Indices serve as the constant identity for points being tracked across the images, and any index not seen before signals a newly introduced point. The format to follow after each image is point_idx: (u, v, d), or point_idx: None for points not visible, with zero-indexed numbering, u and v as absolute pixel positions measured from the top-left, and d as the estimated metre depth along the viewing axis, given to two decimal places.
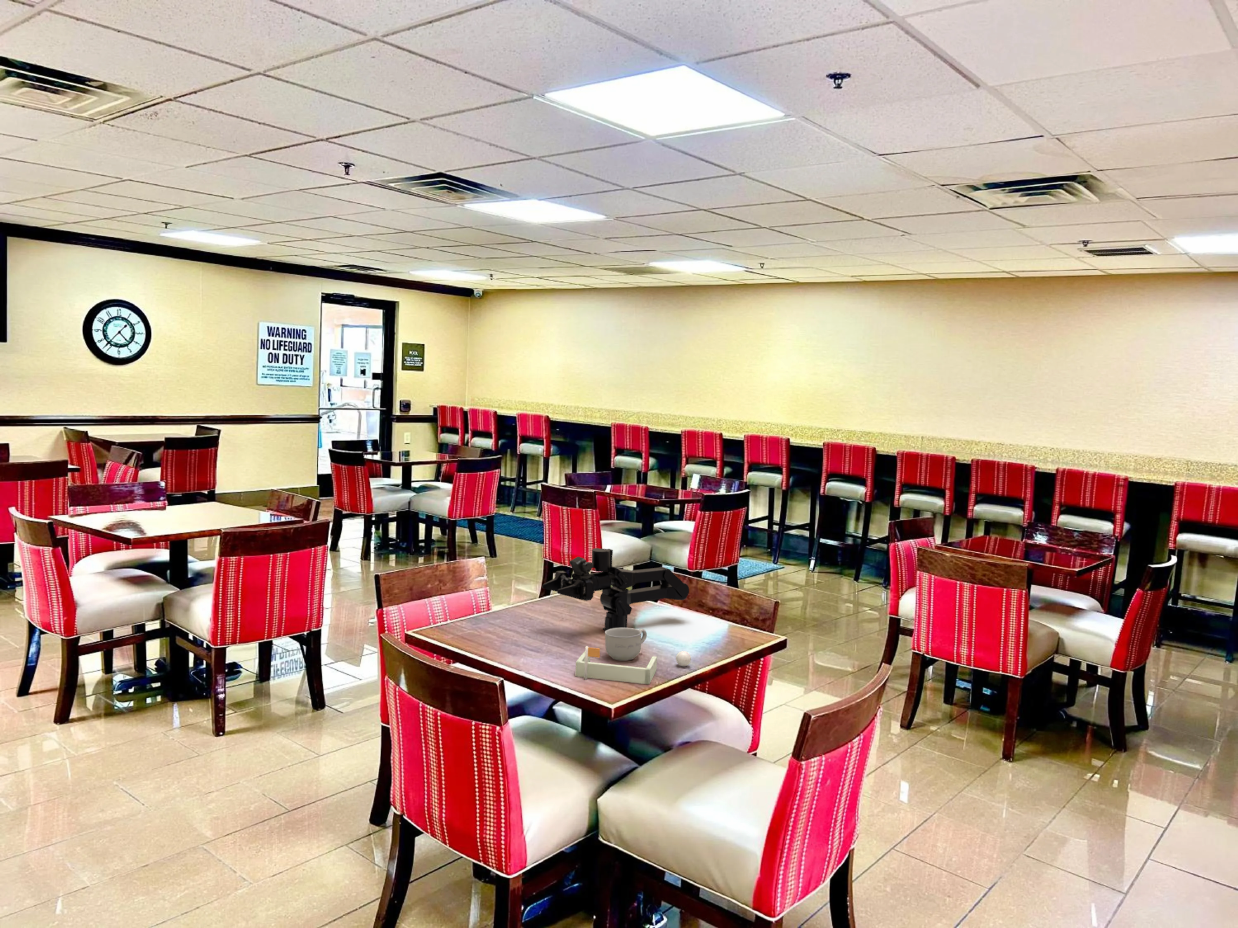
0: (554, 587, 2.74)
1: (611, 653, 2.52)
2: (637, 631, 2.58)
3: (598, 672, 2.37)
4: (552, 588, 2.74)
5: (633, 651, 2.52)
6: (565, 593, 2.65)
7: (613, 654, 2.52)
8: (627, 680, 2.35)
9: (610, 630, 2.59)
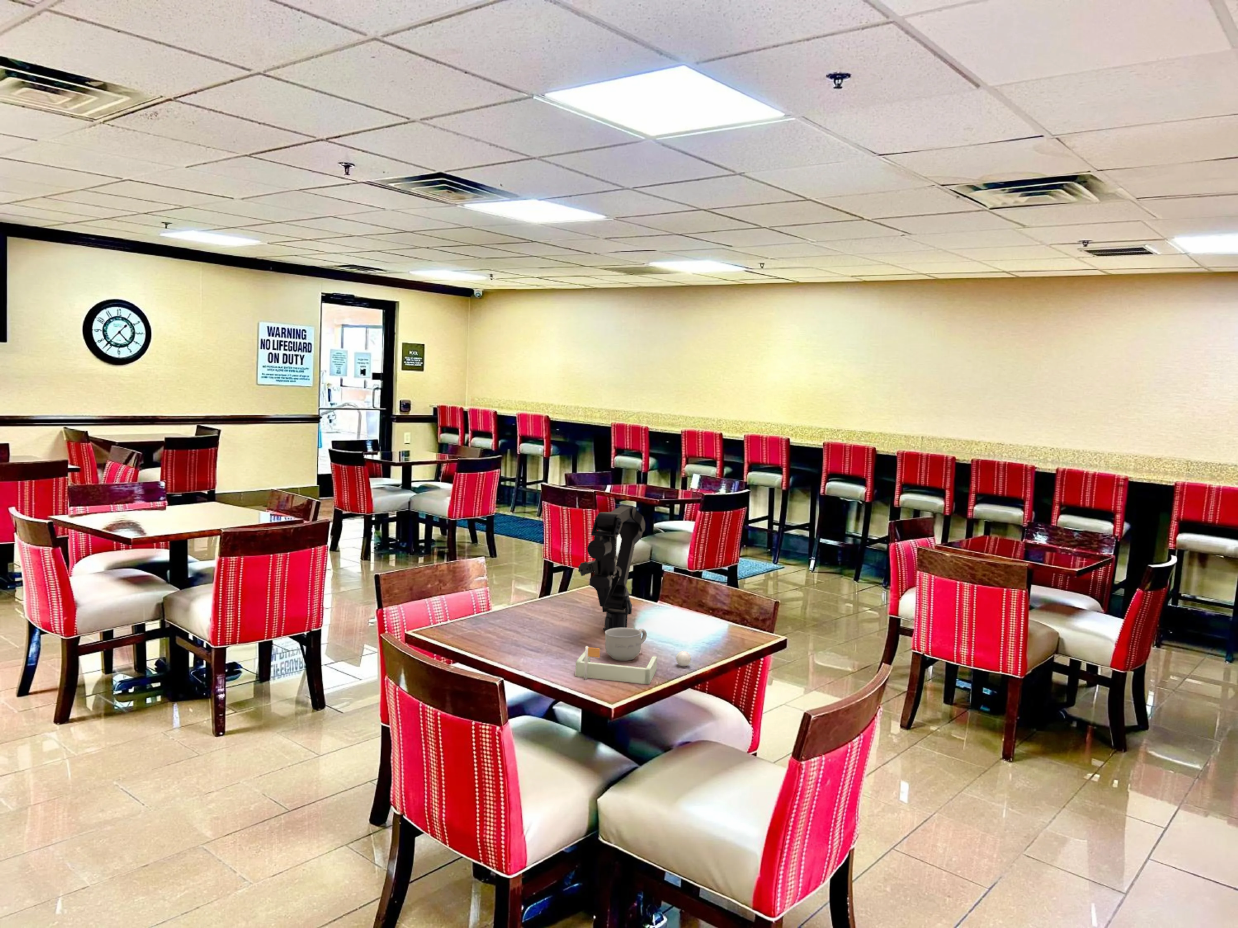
0: (611, 587, 2.74)
1: (611, 653, 2.52)
2: (637, 631, 2.58)
3: (598, 672, 2.37)
4: (611, 589, 2.74)
5: (633, 651, 2.52)
6: (603, 599, 2.65)
7: (613, 654, 2.52)
8: (627, 680, 2.35)
9: (610, 630, 2.59)
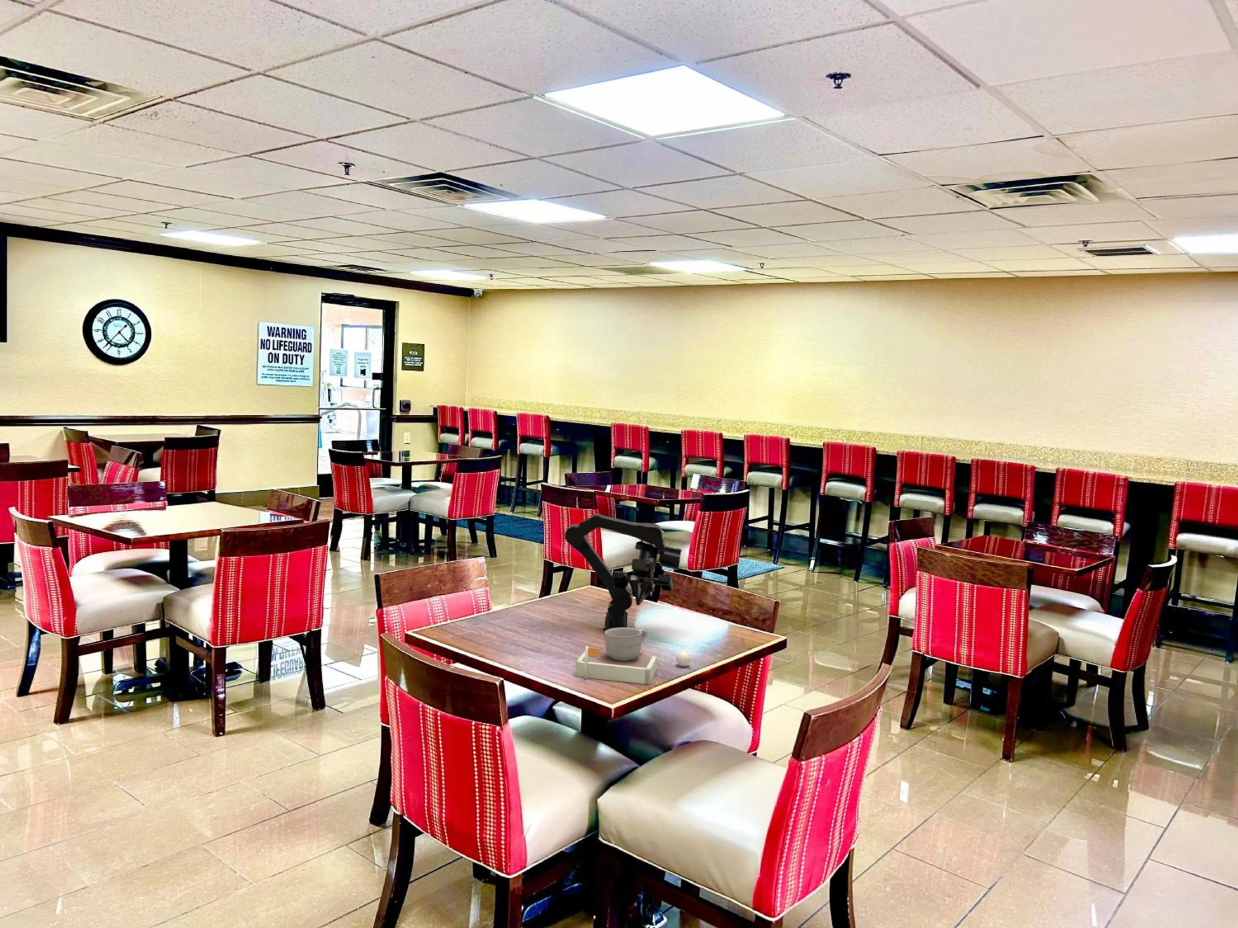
0: (639, 593, 2.73)
1: (611, 653, 2.52)
2: (637, 631, 2.58)
3: (598, 672, 2.37)
4: None
5: (633, 651, 2.52)
6: (642, 599, 2.71)
7: (613, 654, 2.52)
8: (627, 680, 2.35)
9: (610, 630, 2.59)
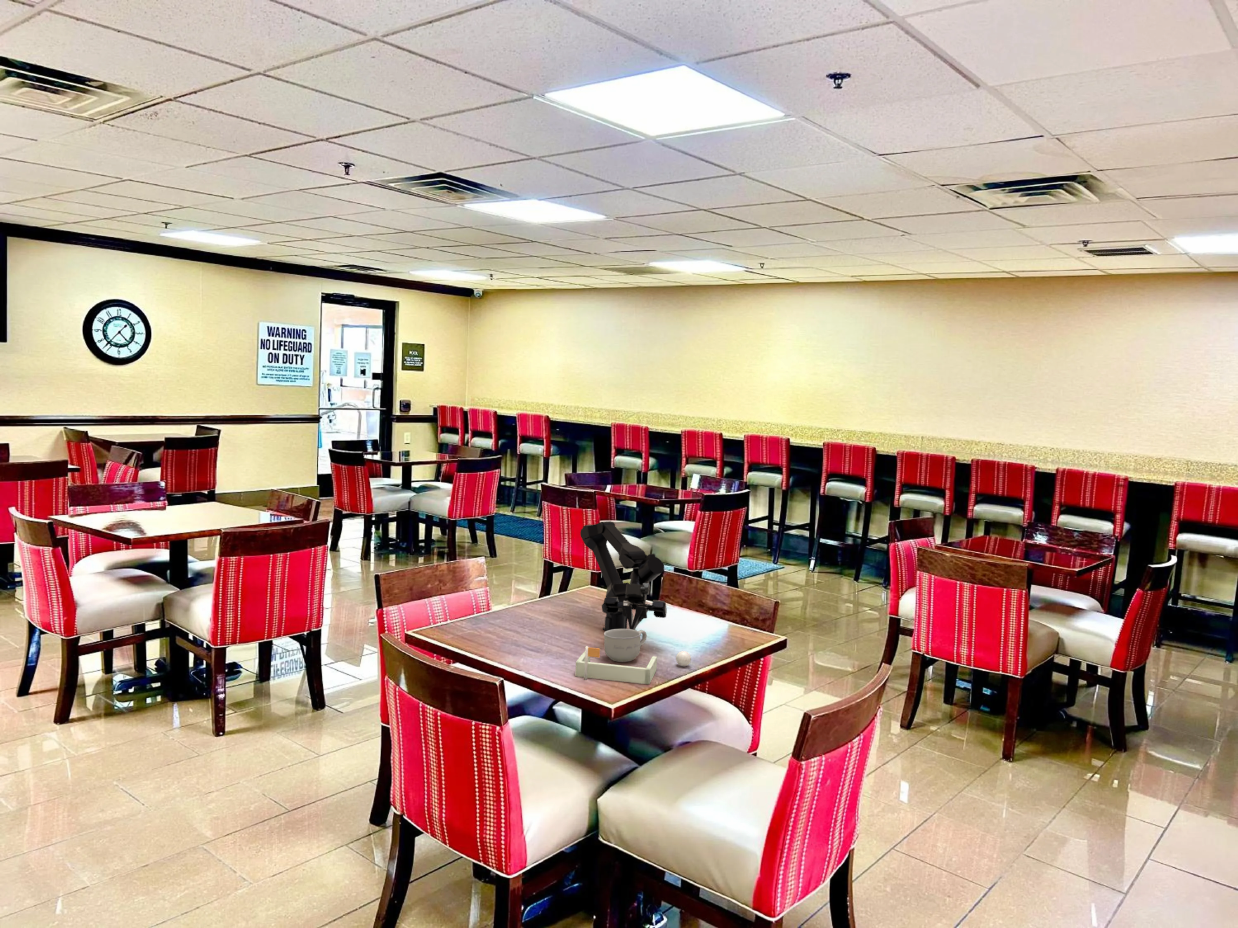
0: (632, 620, 2.63)
1: (610, 654, 2.51)
2: (637, 632, 2.56)
3: (598, 672, 2.37)
4: (632, 622, 2.63)
5: (632, 652, 2.50)
6: (635, 626, 2.62)
7: (612, 655, 2.50)
8: (627, 680, 2.35)
9: (610, 631, 2.58)
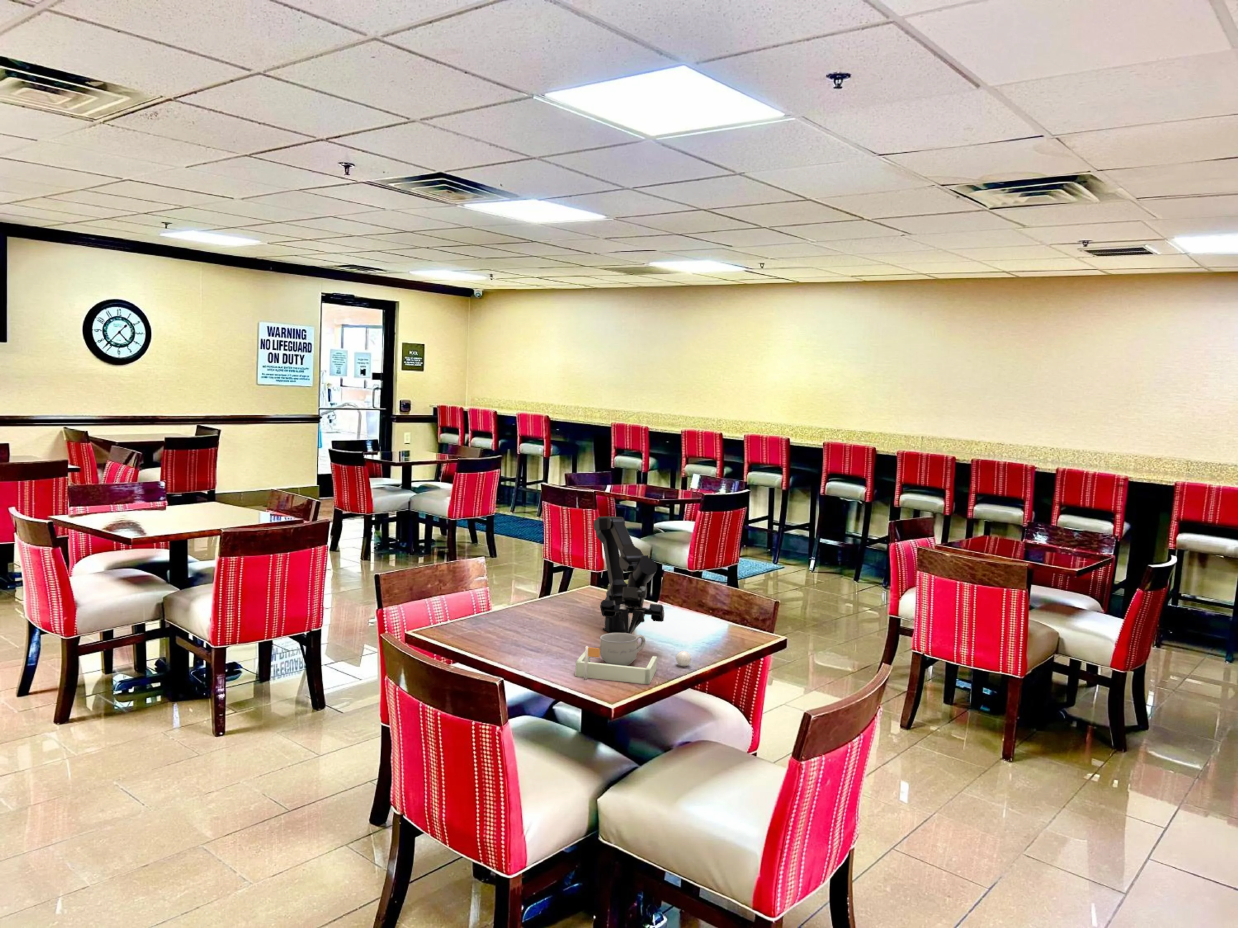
0: None
1: (604, 658, 2.47)
2: (634, 637, 2.52)
3: (598, 672, 2.37)
4: None
5: (626, 657, 2.45)
6: (633, 630, 2.57)
7: (606, 659, 2.47)
8: (627, 680, 2.35)
9: (607, 635, 2.54)
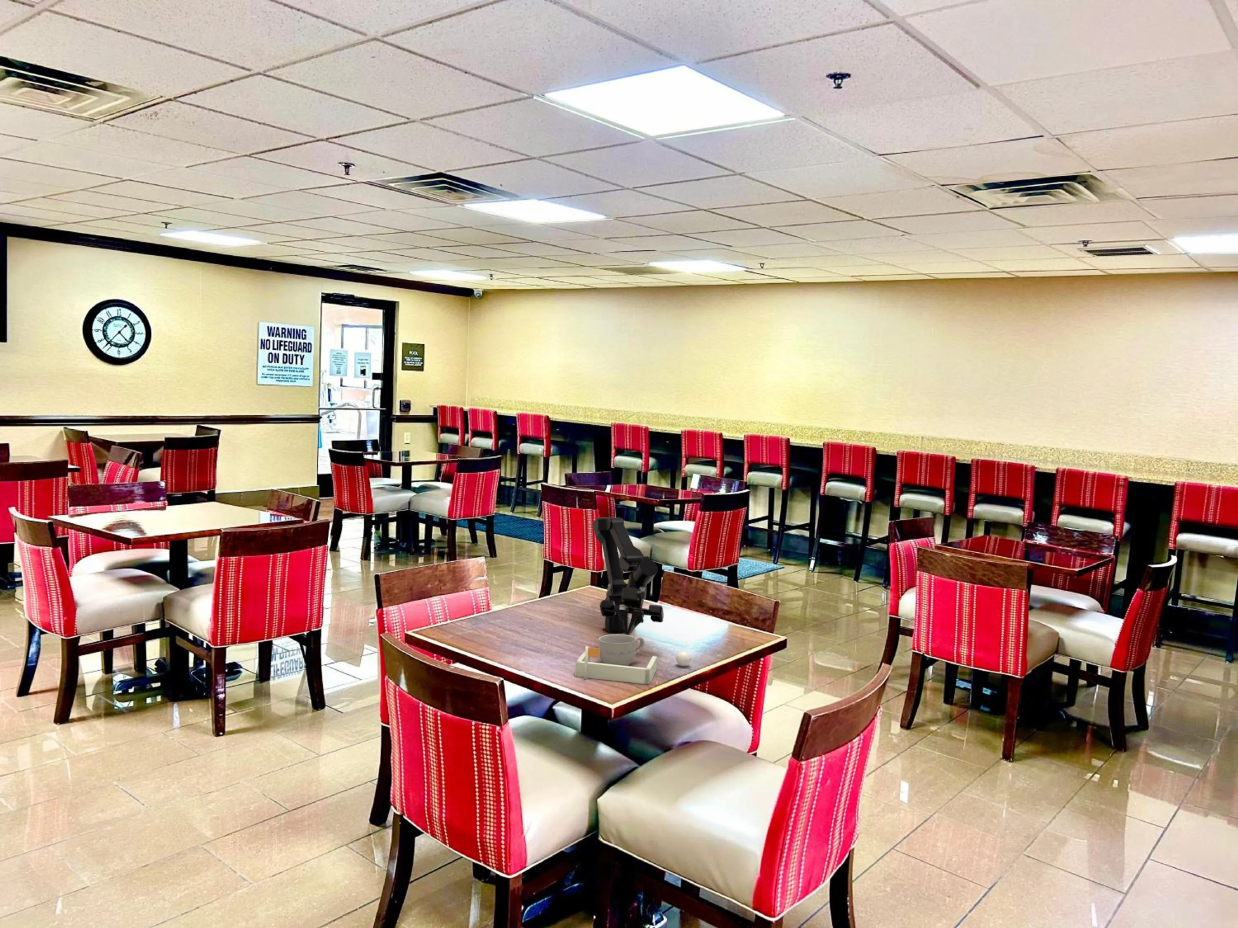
0: (628, 624, 2.60)
1: (603, 660, 2.46)
2: (633, 638, 2.50)
3: (598, 672, 2.37)
4: (628, 627, 2.59)
5: (625, 658, 2.44)
6: (631, 630, 2.58)
7: (605, 661, 2.45)
8: (627, 680, 2.35)
9: (606, 636, 2.53)
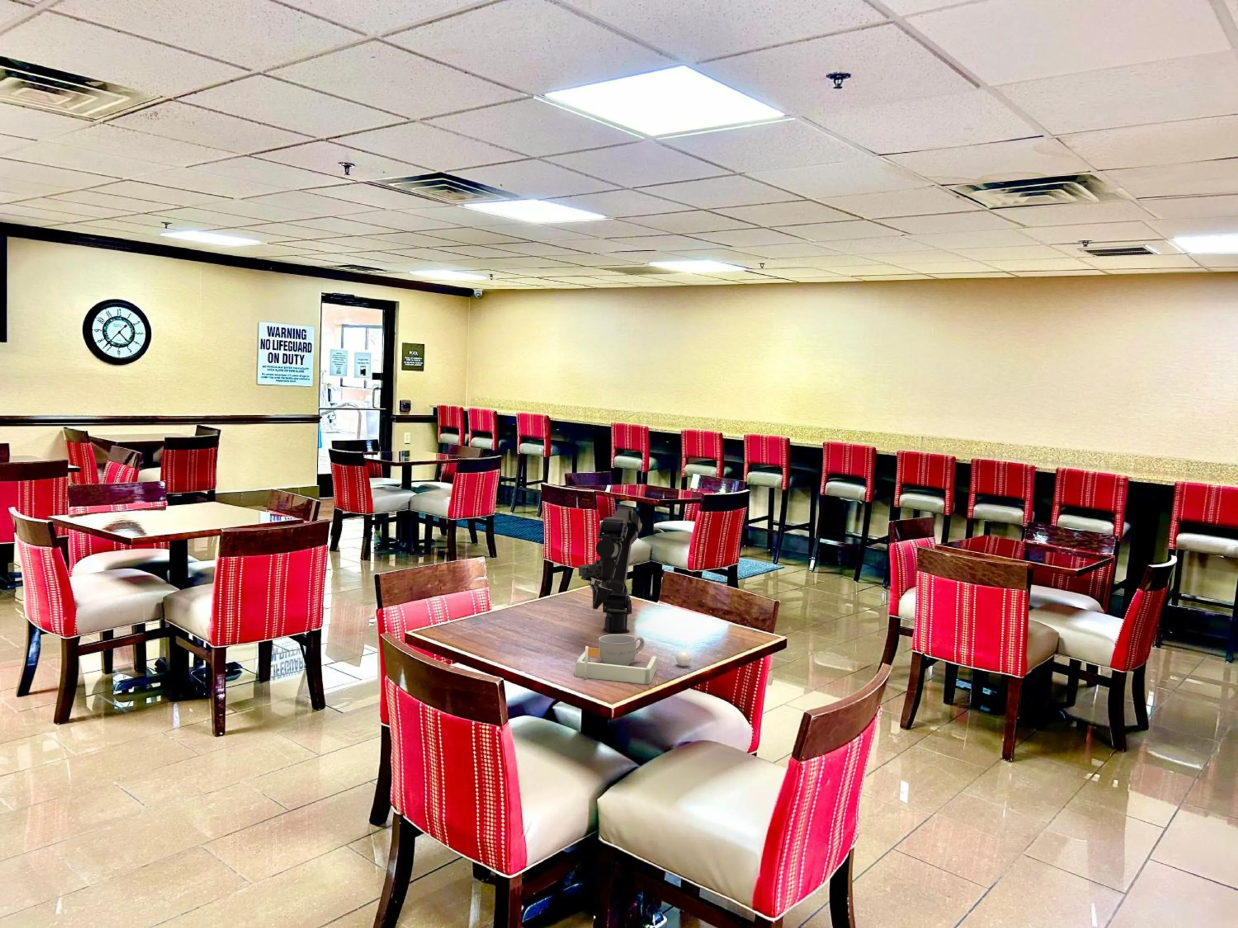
0: None
1: (603, 660, 2.46)
2: (633, 638, 2.50)
3: (598, 672, 2.37)
4: None
5: (625, 658, 2.44)
6: (600, 602, 2.65)
7: (605, 661, 2.45)
8: (627, 680, 2.35)
9: (606, 636, 2.53)
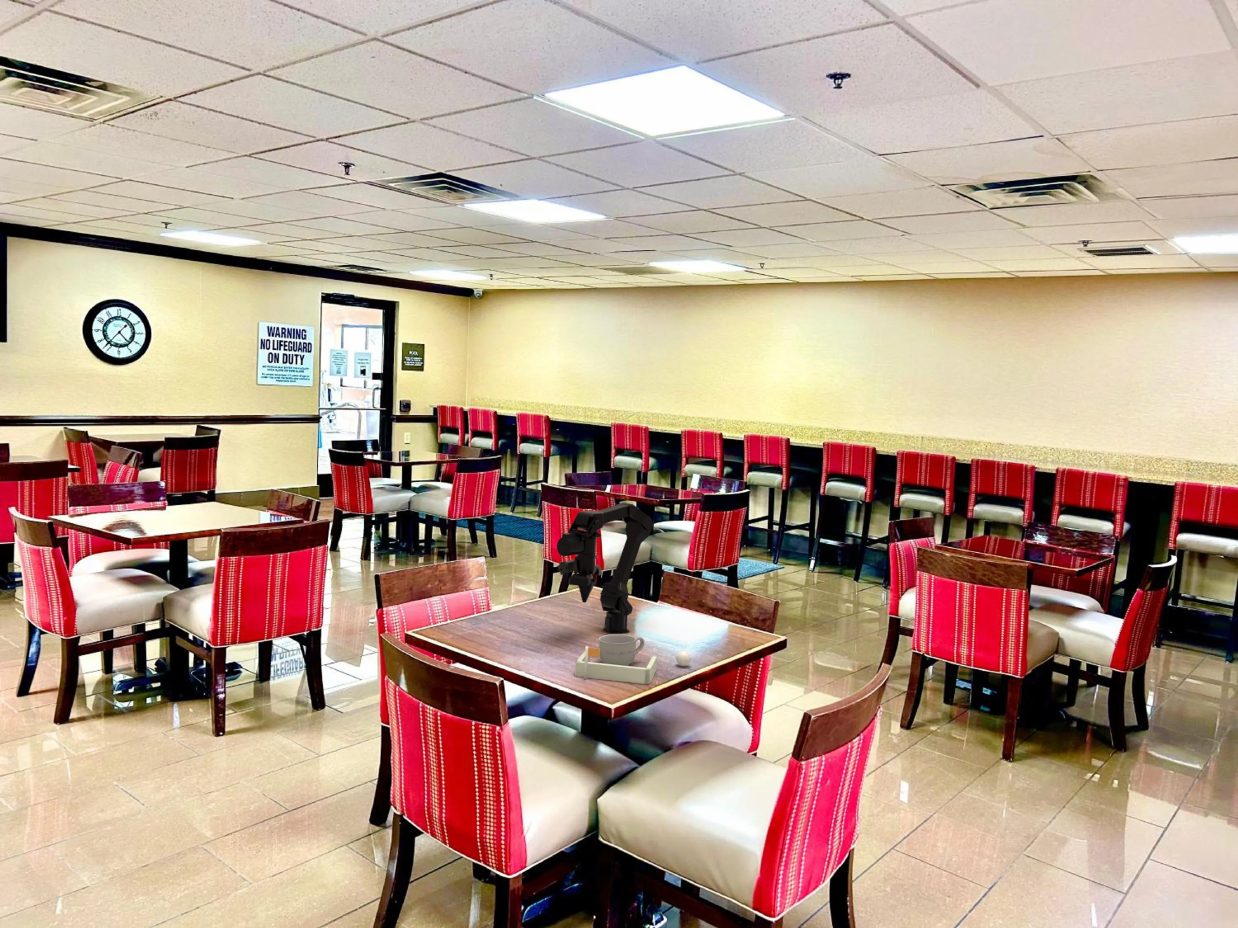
0: None
1: (603, 660, 2.46)
2: (633, 638, 2.50)
3: (598, 672, 2.37)
4: None
5: (625, 658, 2.44)
6: (586, 596, 2.69)
7: (605, 661, 2.45)
8: (627, 680, 2.35)
9: (606, 636, 2.53)
